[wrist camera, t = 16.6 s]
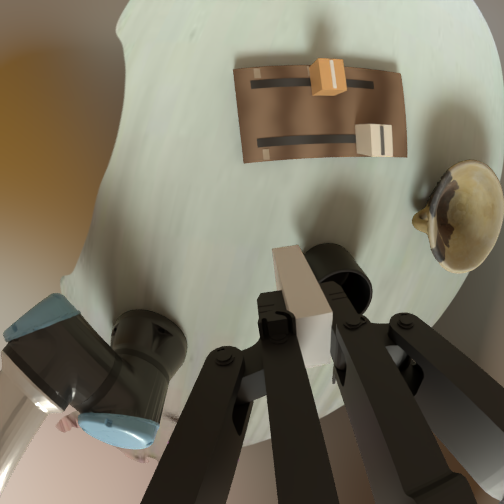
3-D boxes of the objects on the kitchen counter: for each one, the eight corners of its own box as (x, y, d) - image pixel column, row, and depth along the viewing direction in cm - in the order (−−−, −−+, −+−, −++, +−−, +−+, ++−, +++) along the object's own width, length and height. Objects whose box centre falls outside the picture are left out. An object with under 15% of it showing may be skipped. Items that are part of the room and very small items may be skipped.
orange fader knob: (312, 95, 30) (322, 89, 26) (308, 67, 29) (318, 57, 24) (334, 95, 30) (347, 90, 25) (330, 68, 29) (343, 59, 24)
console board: (244, 162, 36) (243, 163, 34) (233, 72, 31) (232, 69, 29) (400, 155, 35) (407, 157, 34) (394, 75, 30) (401, 73, 28)
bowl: (470, 151, 34) (506, 160, 26) (468, 242, 41) (497, 262, 33) (397, 155, 36) (432, 163, 27) (400, 259, 43) (427, 287, 34)
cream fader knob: (356, 153, 33) (372, 156, 29) (354, 124, 32) (370, 123, 27) (376, 153, 33) (393, 157, 28) (374, 125, 32) (392, 125, 27)
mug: (307, 221, 40) (323, 245, 32) (362, 261, 43) (385, 289, 34) (271, 269, 43) (276, 302, 35) (327, 302, 46) (341, 336, 37)
